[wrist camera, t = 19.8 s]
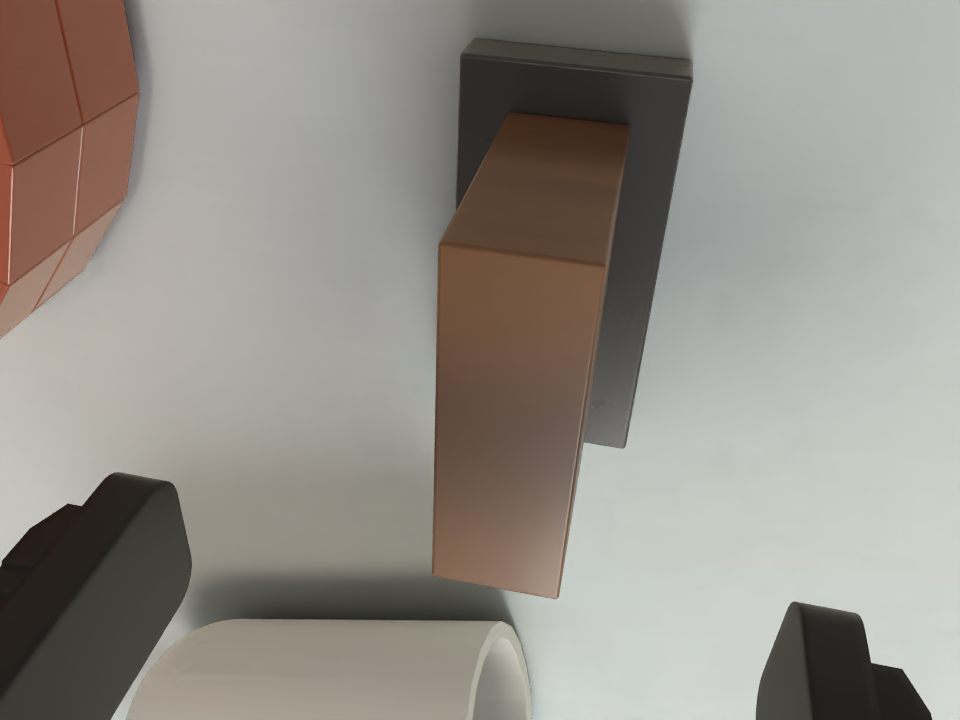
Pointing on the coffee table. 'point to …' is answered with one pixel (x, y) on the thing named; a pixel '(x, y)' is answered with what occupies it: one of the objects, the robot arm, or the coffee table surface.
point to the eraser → (544, 292)
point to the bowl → (60, 141)
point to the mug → (339, 672)
